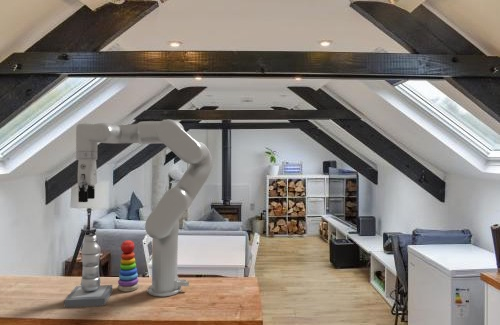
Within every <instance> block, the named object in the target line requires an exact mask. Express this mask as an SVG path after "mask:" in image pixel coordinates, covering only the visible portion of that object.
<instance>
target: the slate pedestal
mask: <svg viewBox="0 0 500 325" xmlns="http://www.w3.org/2000/svg"><path fill="white" fill-rule="evenodd" d="M112 293H113V284H105V285H104V284H103V285H102V284H100V287H99V288H98V289H97V290H94V291H88V292H87V291H83V290H82V289H81V285H77V286H75V287H74V288H73V290H72V291H71V292H70V293H69V294H68V295H67V297H66V298H65V299H64V308H78V307H79V308H80V307H81V308H82V307H99V306H106V304H107V302H108V300H109V298H110V296H111V295H112Z"/></svg>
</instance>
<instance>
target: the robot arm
mask: <svg viewBox="0 0 500 325" xmlns="http://www.w3.org/2000/svg"><path fill="white" fill-rule="evenodd" d="M75 136H76V137H75V160H76V161H78V162H77V163H78V164H77V184H78V194H77V195H78V198H77V199H78V203H88V202H89V200H94V199H95V191H96V190H95V189H96V188H95V185H97V184H98V170H97V160H98V143H100V144H101V143H102V144H139V145H142V144H143V145H145V144H147V145H149V144H150V145H151V144H152V145H153V144H164V146H166V148H168V149H169V150H170V151H171V152H173V153H174V154H175V156H177V157H178V158H179V159H180V160H181V161H183V162H184V163H186V164H188V165H189V166H188V168H187V169H186V170H185V172H184V173H183V174H182V176H181V178H180V179H179V181H178V182H177V183H176V185H175V186H173V187H171V188H170V189H168V190H167V191H166V192H165V193H164V194H163V195H162V197H161V198H160V199H159V201H158V202H157V203H156V205H155V206H154V208H153V209H152V211H151V212H150V214H149V215H148V216H147V219H146V220H145V225H144V228H145V232H146V234H147V236H149V237H150V238H151V239H152V244H151V245H152V246H151V285H150V286H148V287H147V294H149V295H150V296H154V297H170V296H174V295H176V294H179V293H180V292H181V290H182V287H189V286H190V281H189V280H187V279H181V278H179V275H178V246H179V245H178V241H179V239H178V238H179V231H180V230H179V228H180V219H181V217H182V216H183V214H184V212H186V211H187V210H188V209H189V208H190V207H191V205H192V204H193V202H194V200H195V199H196V197H197V196H198V195H199V193H200V191H201V189H202V188H203V186H204V184H206V182H207V180H208V179H209V176H210V174H211V172H212V168H213V156H212V154H211V151H210V150H209V148H208V147H207V145H206V144H204V142H201V141H198V140H196V139H194V138H193V137H192V136H191V135H190V134H188V132H186V131H185V128H184V126H183V125H182V123H180V122H179V121H177V120H174V119H170V118H168V119H164V120H160V121H159V120H158V121H157V120H156V121H153V120H149V121H148V120H147V121H139V122H138V123H137V122H136V123H133V124H132V123H131V124H113V123H107V122H99V123H78V124H77V125H76V127H75Z"/></svg>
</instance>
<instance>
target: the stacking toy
mask: <svg viewBox="0 0 500 325" xmlns="http://www.w3.org/2000/svg"><path fill="white" fill-rule="evenodd" d="M135 247H136V246H135V243H134V242H133V241H132V240H129V239H128V240H125V241H122V243H121V246H120V249H121V252H122V253H121V255H120V257H121V259H120V265H119V268H120V269H119V276H118V280H117V283H118V284H117V289H118V290H119V291H120V292H132V291H135V290H136V289H138V288H139V287H140V283H139V278H138V276H139V274H138V269H137V264H136V258H135V256H136V254H135V252H133V251H134V250H135Z"/></svg>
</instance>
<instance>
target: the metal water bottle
mask: <svg viewBox="0 0 500 325" xmlns="http://www.w3.org/2000/svg"><path fill="white" fill-rule="evenodd" d="M97 241H98V239H97V234H88V235H85V237H84V242H85V243H84V245H82V248H81V250H80V254H81V261H82V274H81V275H82V276H81V280H80V286H81V289H82V290H83V291H87V292H88V291H94V290H97V289H98V288H99V287H100V285H101V277H100V256H101V253H102V252H101V250H102V249H101V246H100V245H99V244H98V242H97Z"/></svg>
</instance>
